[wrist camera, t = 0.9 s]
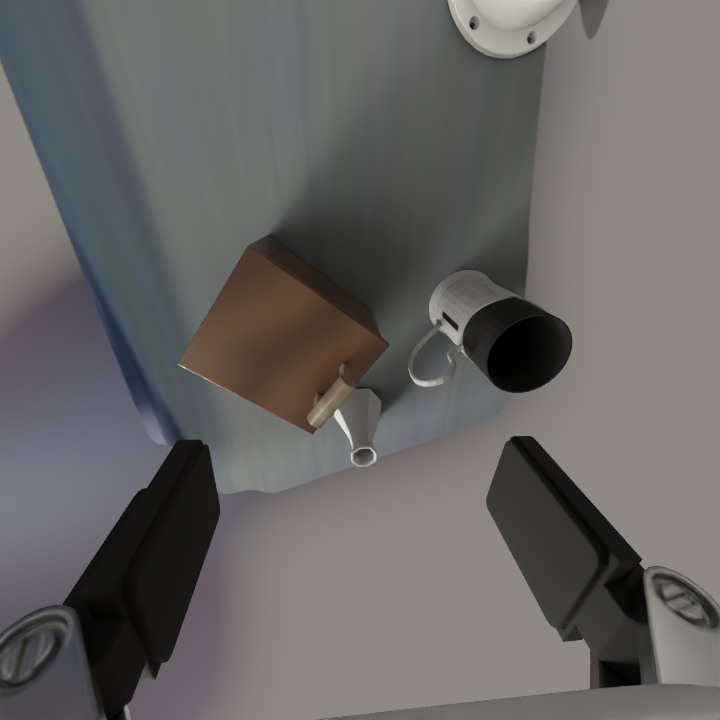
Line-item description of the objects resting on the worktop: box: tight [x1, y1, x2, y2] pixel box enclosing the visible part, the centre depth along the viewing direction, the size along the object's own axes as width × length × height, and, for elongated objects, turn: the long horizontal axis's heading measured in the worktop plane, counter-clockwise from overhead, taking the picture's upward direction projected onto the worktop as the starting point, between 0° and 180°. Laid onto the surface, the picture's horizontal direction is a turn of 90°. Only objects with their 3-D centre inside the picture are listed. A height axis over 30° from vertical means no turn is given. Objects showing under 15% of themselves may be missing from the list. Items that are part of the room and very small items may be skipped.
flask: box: [334, 388, 381, 467], centre depth 41 cm, size 7×7×10 cm
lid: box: [178, 245, 389, 434], centre depth 29 cm, size 16×14×5 cm
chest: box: [250, 235, 381, 337], centre depth 35 cm, size 15×14×9 cm
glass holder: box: [408, 270, 572, 393], centre depth 34 cm, size 9×14×15 cm, turn 112°
